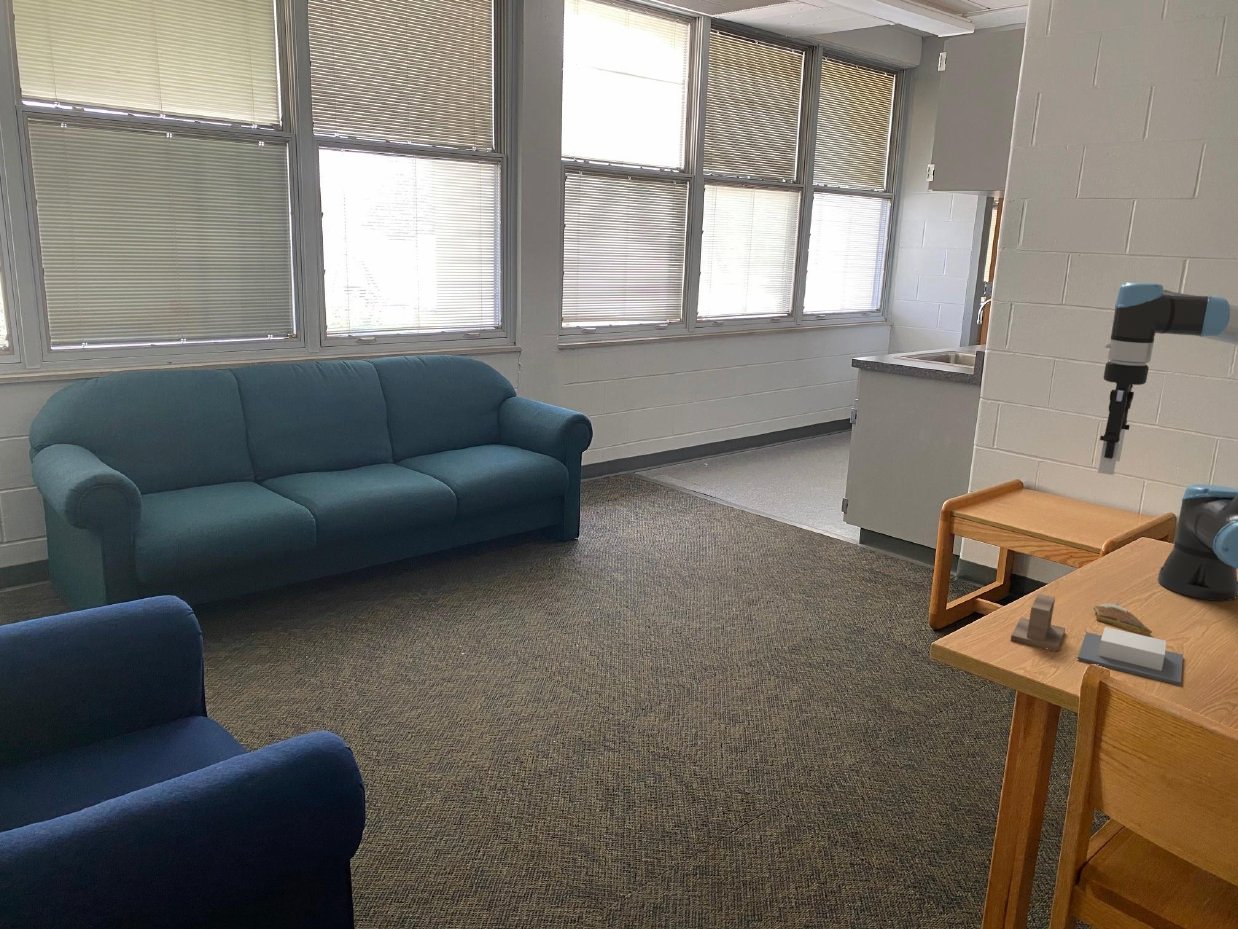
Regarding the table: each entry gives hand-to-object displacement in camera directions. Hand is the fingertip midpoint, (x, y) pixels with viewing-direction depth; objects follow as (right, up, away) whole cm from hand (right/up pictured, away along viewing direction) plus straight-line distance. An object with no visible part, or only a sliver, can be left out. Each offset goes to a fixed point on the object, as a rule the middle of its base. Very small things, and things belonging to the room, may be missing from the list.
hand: (1109, 466), depth 188 cm
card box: (-7, -34, -20) cm, 40 cm away
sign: (+5, -29, +6) cm, 30 cm away
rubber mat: (-7, -35, -20) cm, 41 cm away
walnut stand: (-20, -32, -12) cm, 40 cm away
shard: (+1, -31, -4) cm, 31 cm away
